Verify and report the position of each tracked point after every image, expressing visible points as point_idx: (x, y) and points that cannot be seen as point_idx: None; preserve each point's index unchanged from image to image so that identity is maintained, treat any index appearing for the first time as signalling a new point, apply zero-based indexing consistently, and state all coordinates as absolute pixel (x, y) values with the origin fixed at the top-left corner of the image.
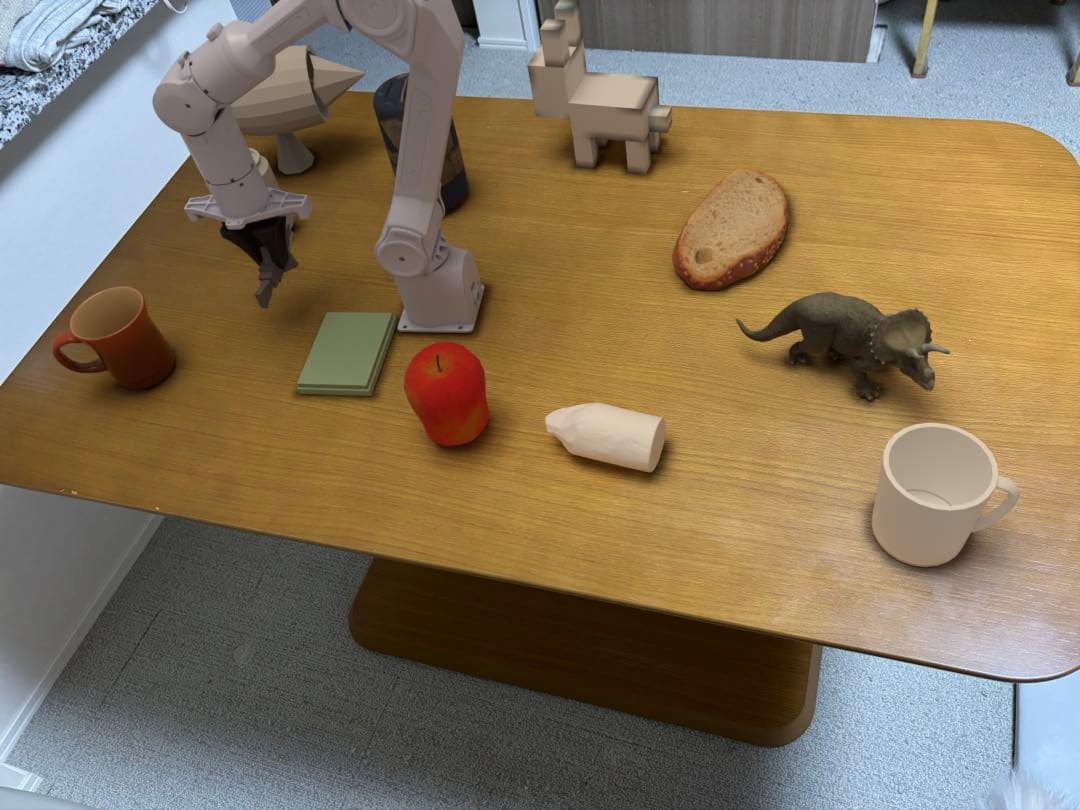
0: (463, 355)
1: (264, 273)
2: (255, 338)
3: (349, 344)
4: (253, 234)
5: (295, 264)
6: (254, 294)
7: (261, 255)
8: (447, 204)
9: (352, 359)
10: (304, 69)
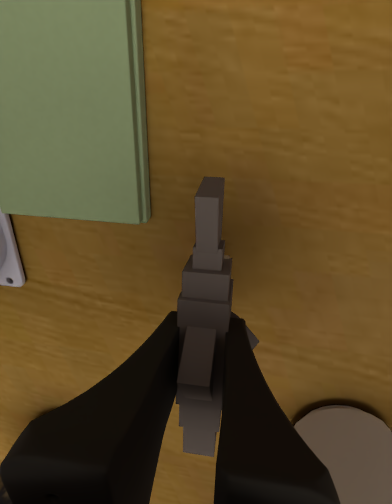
0: None
1: (209, 291)
2: (311, 174)
3: (46, 122)
4: (107, 455)
5: None
6: (216, 197)
7: (224, 358)
8: None
9: (15, 69)
10: None
